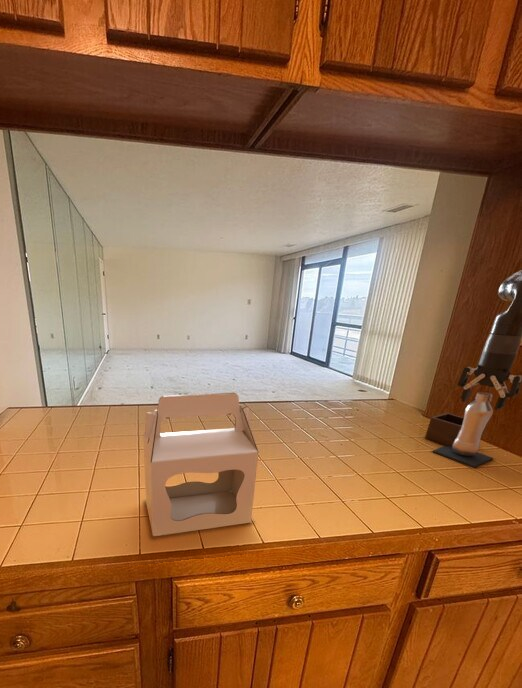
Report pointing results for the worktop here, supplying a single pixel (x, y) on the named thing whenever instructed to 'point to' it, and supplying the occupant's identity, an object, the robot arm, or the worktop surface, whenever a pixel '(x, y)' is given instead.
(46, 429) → the worktop surface
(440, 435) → the holder
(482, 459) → the mat
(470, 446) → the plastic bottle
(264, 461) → the worktop surface
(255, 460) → the gable box
